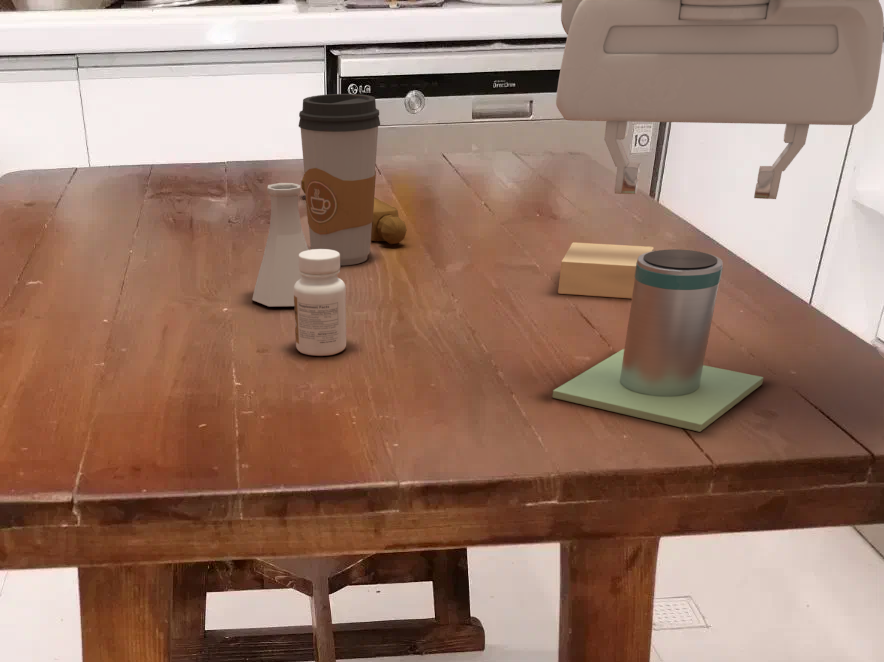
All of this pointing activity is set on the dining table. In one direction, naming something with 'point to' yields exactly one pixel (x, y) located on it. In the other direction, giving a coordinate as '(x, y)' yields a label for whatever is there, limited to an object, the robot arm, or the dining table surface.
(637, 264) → the tumbler
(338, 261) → the pill bottle
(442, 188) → the dining table surface
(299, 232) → the flask
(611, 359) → the mat
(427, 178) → the dining table surface
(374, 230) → the tap handle
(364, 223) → the coffee cup
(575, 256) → the plate
